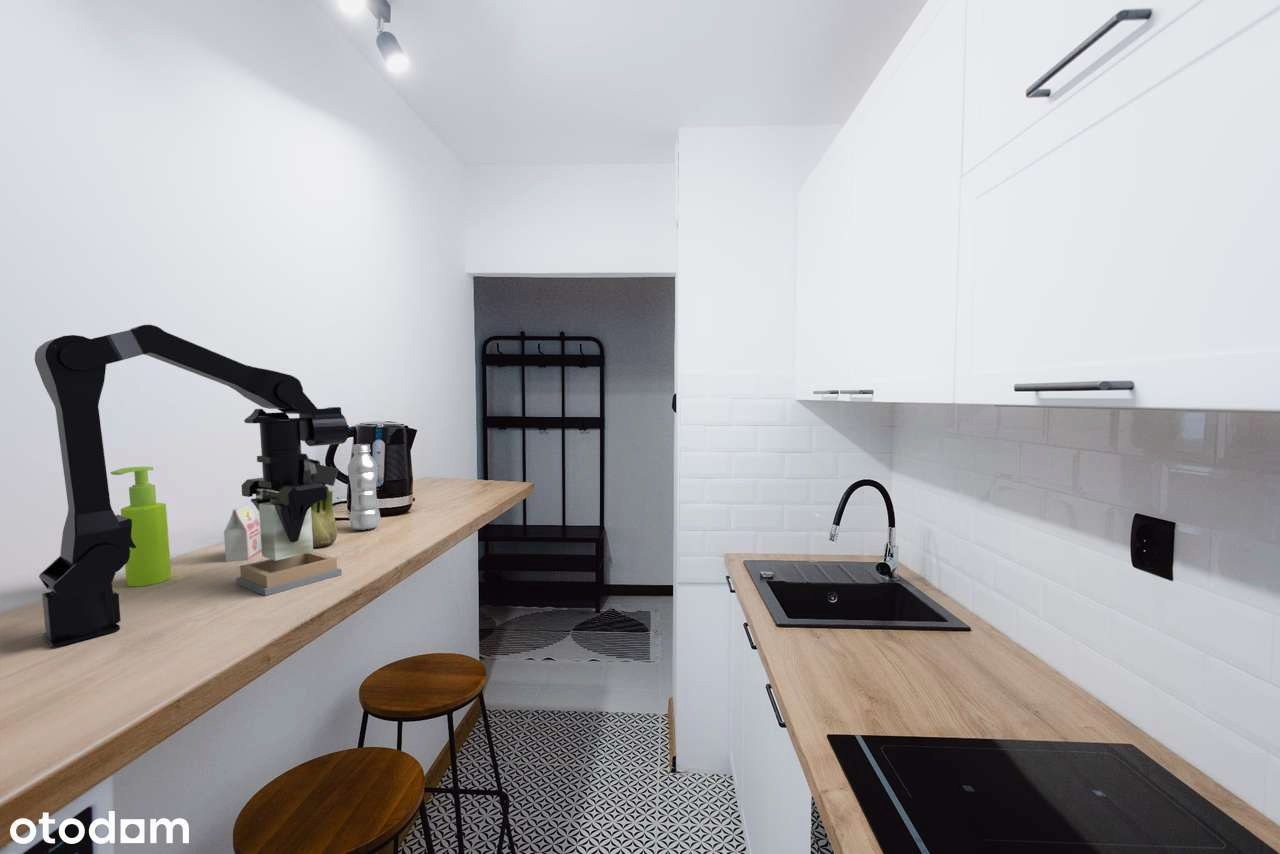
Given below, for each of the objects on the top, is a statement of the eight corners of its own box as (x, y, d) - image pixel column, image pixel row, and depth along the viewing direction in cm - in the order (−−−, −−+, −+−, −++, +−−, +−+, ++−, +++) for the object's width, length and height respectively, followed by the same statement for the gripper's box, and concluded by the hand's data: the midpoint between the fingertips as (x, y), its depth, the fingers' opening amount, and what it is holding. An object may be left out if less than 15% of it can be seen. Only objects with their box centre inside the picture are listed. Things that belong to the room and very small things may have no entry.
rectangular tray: (265, 595, 89) (264, 577, 89) (236, 583, 96) (235, 566, 95) (341, 574, 99) (340, 557, 99) (310, 565, 105) (309, 549, 105)
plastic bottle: (343, 532, 130) (338, 446, 129) (362, 525, 137) (358, 443, 136) (369, 533, 129) (364, 446, 128) (387, 526, 136) (382, 443, 135)
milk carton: (226, 562, 109) (222, 510, 108) (241, 552, 116) (238, 504, 115) (247, 560, 110) (244, 509, 109) (261, 551, 116) (258, 502, 116)
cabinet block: (275, 560, 93) (271, 501, 93) (262, 556, 96) (258, 499, 95) (313, 551, 98) (310, 495, 98) (299, 547, 101) (296, 493, 100)
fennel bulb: (300, 548, 117) (297, 491, 117) (319, 542, 122) (316, 487, 121) (324, 549, 116) (320, 492, 115) (342, 543, 121) (338, 487, 120)
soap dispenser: (110, 587, 95) (101, 469, 94) (156, 574, 102) (147, 464, 101) (135, 590, 94) (125, 470, 93) (179, 576, 100) (171, 464, 99)
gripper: (357, 446, 97) (362, 536, 98) (305, 443, 108) (309, 524, 109) (287, 453, 88) (293, 551, 89) (237, 448, 99) (243, 536, 100)
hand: (287, 539), depth 97 cm, fingers closed on cabinet block, 5 cm apart
